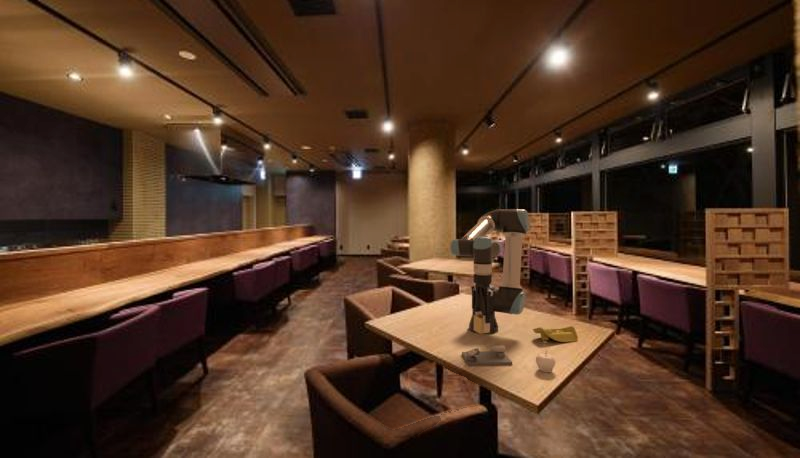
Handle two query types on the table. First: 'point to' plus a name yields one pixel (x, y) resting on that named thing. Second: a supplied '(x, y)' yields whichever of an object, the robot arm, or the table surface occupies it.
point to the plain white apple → (545, 362)
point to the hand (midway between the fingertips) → (482, 328)
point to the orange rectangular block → (479, 324)
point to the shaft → (472, 355)
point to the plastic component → (558, 334)
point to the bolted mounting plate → (490, 357)
